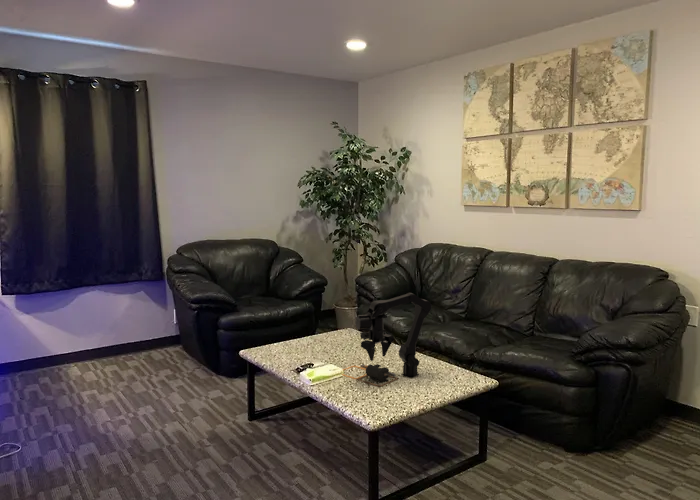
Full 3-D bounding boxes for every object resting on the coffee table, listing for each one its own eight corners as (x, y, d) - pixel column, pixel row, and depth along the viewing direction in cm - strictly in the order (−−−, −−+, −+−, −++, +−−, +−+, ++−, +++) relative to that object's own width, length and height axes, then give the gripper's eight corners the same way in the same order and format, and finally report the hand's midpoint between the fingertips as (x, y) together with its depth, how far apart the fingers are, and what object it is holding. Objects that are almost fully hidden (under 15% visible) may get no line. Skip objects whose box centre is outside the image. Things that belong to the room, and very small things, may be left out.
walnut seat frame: (398, 379, 256) (398, 378, 256) (379, 387, 246) (379, 386, 245) (375, 372, 266) (375, 371, 266) (356, 380, 255) (356, 379, 255)
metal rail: (395, 376, 261) (395, 373, 260) (393, 376, 259) (393, 374, 259) (362, 366, 275) (362, 364, 275) (360, 367, 274) (360, 364, 274)
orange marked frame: (375, 372, 266) (375, 371, 266) (356, 379, 256) (356, 378, 256) (354, 366, 276) (354, 365, 276) (334, 373, 266) (334, 372, 265)
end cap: (365, 378, 258) (365, 365, 257) (376, 375, 262) (376, 362, 261) (377, 384, 250) (377, 370, 249) (389, 381, 254) (389, 367, 253)
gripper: (377, 321, 265) (377, 351, 267) (352, 328, 252) (352, 359, 253) (394, 324, 258) (394, 355, 260) (369, 332, 244) (370, 364, 246)
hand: (377, 358), depth 255 cm, fingers open, 9 cm apart
